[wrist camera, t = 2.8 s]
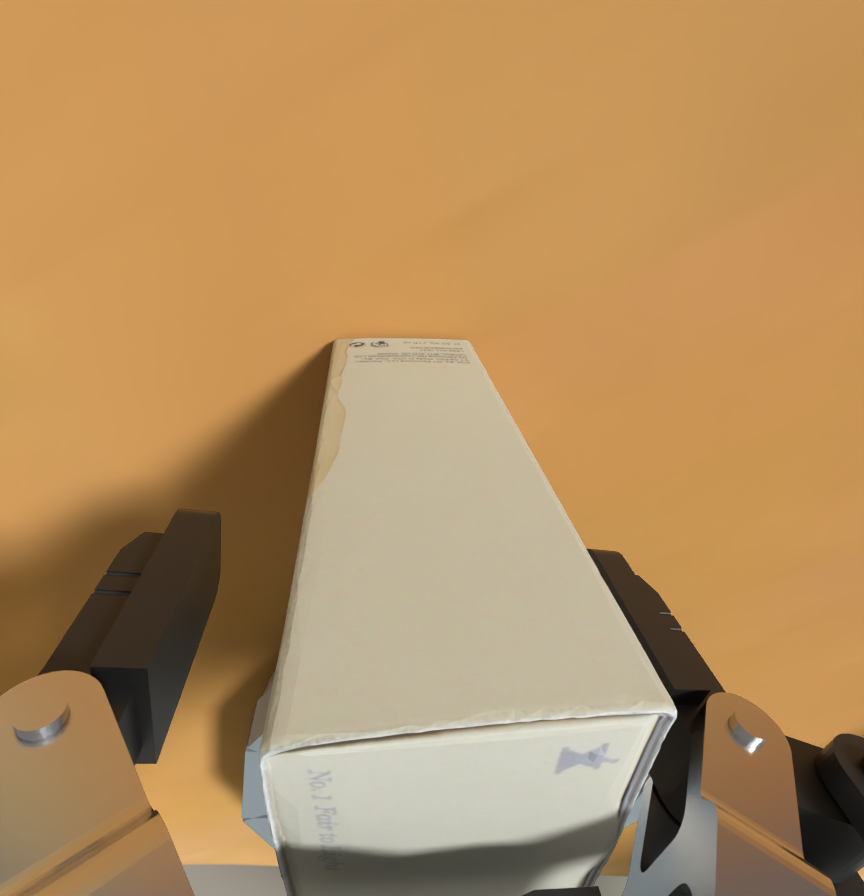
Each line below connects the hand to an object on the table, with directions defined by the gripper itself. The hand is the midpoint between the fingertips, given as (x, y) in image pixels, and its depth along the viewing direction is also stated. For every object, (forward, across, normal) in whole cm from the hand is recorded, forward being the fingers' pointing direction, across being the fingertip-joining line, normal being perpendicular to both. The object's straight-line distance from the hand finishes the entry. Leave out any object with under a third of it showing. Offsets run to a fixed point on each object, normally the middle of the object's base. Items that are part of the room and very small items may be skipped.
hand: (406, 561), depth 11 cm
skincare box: (+7, 0, 0) cm, 7 cm away
